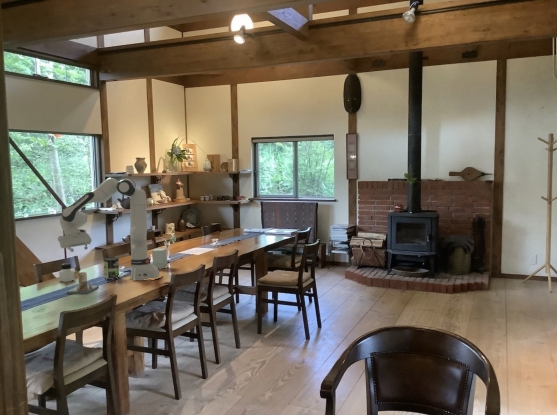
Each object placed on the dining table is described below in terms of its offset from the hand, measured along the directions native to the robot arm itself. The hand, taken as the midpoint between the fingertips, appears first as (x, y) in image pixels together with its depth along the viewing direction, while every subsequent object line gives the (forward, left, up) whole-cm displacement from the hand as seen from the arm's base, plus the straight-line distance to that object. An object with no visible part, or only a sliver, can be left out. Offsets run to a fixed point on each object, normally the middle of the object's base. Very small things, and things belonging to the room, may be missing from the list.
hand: (79, 250), depth 316 cm
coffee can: (-12, -20, -24) cm, 34 cm away
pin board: (-9, +14, -24) cm, 29 cm away
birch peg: (-9, +14, -22) cm, 28 cm away
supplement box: (-36, -52, -24) cm, 68 cm away
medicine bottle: (+17, -11, -24) cm, 32 cm away
